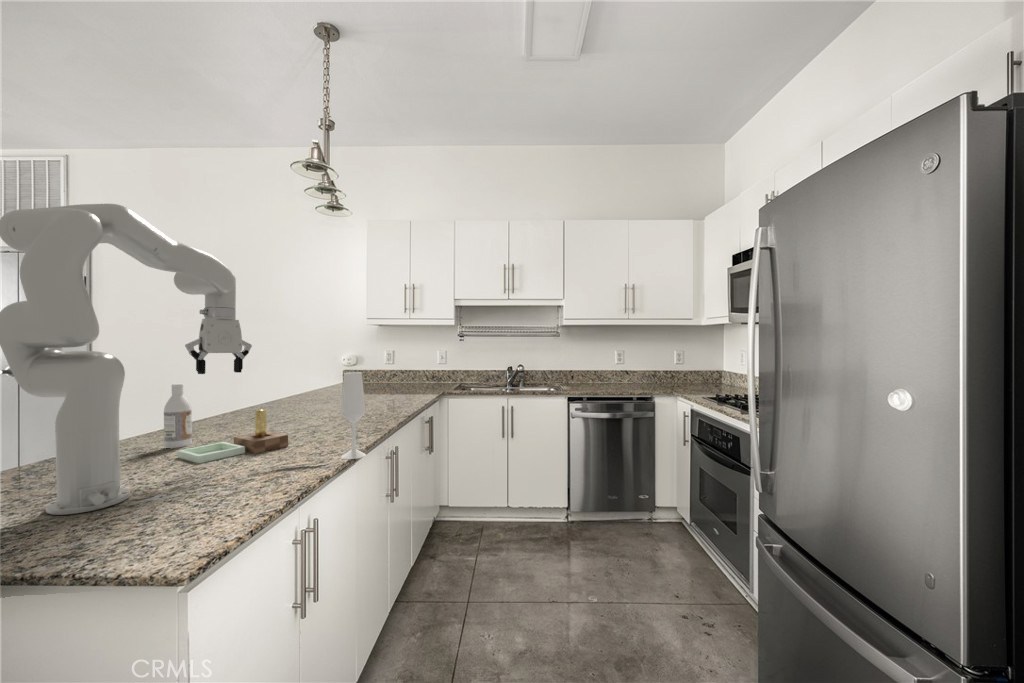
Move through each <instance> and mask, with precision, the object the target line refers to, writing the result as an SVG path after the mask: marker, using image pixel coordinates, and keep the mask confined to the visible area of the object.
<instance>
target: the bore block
mask: <svg viewBox="0 0 1024 683" xmlns="http://www.w3.org/2000/svg"><path fill="white" fill-rule="evenodd" d="M233 444H235V445H240V446H245V452H249V453H253V454H259V453H264V452H268V451H272V450H276V449H281V448H284V447H288V446H289V434H286V433H285V434H284V433H280V432H273V431H269V430H267V437H262V438H255V432H254V433H249V434H243V435H237V436H233Z"/></svg>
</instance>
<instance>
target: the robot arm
mask: <svg viewBox="0 0 1024 683" xmlns="http://www.w3.org/2000/svg"><path fill="white" fill-rule="evenodd" d="M0 240H2V241H3V242H4V244H6V245H7V246H8V247H10V248H11V249H13V250H16V251H19V252H22V253H24V255H23V257H22V260H21V262H20V265H19V279H20V284H21V286H22V289H23V292H24V296H25V299H26V300H21V301H16V302H13V303H11V304H10V303H9V304H8V305H6V306H5V307H4V308H2V309H1V310H0V348H1V350H2V353H3V355H4V357H5V360H6V362H7V364H8V366H9V369H10V371H11V374H12V375H13V377H14V379H15V381H16V383H17V385H18V386H19V387H20V389H22V390H23V391H24V392H26V393H27V394H30V395H31V396H35V397H37V398H38V397H40V398H64V400H63V402H62V404H61V406H60V408H59V410H58V411H57V414H56V418H55V422H54V425H55V426H54V428H55V431H54V432H55V467H56V468H55V469H56V470H55V471H56V472H55V473H56V476H55V478H56V480H55V481H56V499H55V500H53V501H51V502H49V503H47V505H45V512H46V513H47V514H49V515H55V516H65V515H75V514H81V513H82V514H83V513H86V512H93V511H97V510H101V509H104V508H107V507H111V506H114V505H117V504H120V503H121V502H124V501H126V500H127V499H129V497H131V491H130V489H128V488H126V487H121V456H120V455H121V453H120V452H121V449H120V443H121V442H120V402H121V401H120V400H121V395H122V390H123V388H124V387H123V386H124V382H125V378H126V376H125V375H126V372H125V367H124V365H123V363H122V362H121V361H120V359H119V358H117V357H116V356H114V355H112V354H110V353H107V352H103V351H96V350H95V351H94V350H80V351H79V350H71V351H69V350H68V351H64V350H63V349H64V348H79V347H84V346H86V345H87V346H88V345H90V344H92V343H93V342H94V341H96V340H97V338H98V337H99V335H100V324H99V321H98V317H97V314H96V311H95V309H94V306H93V303H92V300H91V298H90V295H89V292H88V289H87V286H86V282H85V279H84V273H83V272H84V266H85V263H86V261H87V259H88V258H89V256H90V254H91V253H92V252H93V250H95V248H96V247H97V246H98V245H99V244H109V245H111V246H113V247H115V248H116V249H118V250H120V251H122V252H123V253H125V254H126V255H128V256H130V257H131V258H133V259H134V260H136V261H137V262H138V263H141V264H142V265H144V266H145V267H149V268H153V269H156V270H159V271H165V272H171V273H175V274H174V276H173V283H174V285H175V287H176V288H177V289H178V290H179V291H180V292H182V293H184V294H187V295H192V296H194V295H197V296H199V295H204V307H203V309H199V314H200V315H203V317H204V318H202V320H201V323H200V326H199V327H200V328H199V332H198V338H197V339H194V340H193V341H191V342H188V343H186V344H184V347H185V348H186V350H187V351H188V354H189V355H190V357H191V356H192V357H193V359H194V360H195V371H196V372H197V374H198V375H205V374H206V360H205V358H206V357H207V355H209V354H232V355H233V356H234V357H235V358H234V359H233V372H234V373H242V370H243V368H244V367H243V364H244V363H243V361H244V359H245V358H246V357H247V355H248V354H249V352H250V350H251V349H252V347H253V345H252V344H251V343H250V342H247V341H245V340H243V336H242V329H241V325H240V321H239V319H236V316H237V315H236V312H237V311H236V308H237V306H236V301H237V300H236V299H237V298H236V297H237V295H236V294H237V293H236V292H237V290H236V289H237V288H236V286H237V282H236V280H237V278H236V276H235V275H234V274H233V272H232V271H231V270H230V269H229V267H227V265H225V263H223V262H221V261H220V260H219V259H218V258H216V257H215V256H213V255H212V254H210V253H207V252H205V251H203V250H201V249H198V248H195V247H193V246H190V245H187V244H184V243H182V242H179V241H177V240H173V239H171V238H170V237H168V236H167V235H166V234H164V233H163V232H161V231H160V230H159V229H157V228H156V227H155V226H153V225H152V224H151V223H149V222H148V221H146V220H145V219H144V218H143V217H141V216H140V215H138V214H137V213H135V212H134V211H132V210H131V209H129V208H128V207H127V206H124V205H120V204H118V203H116V204H115V203H89V204H88V203H87V204H86V203H85V204H83V203H82V204H72V205H71V204H70V205H69V204H68V205H61V206H52V207H42V208H41V207H38V208H25V209H24V208H23V209H22V208H21V209H16V210H11V211H9V212H6V213H5V214H3V215H2V216H1V217H0ZM195 346H197V347H198V352H197V351H196V350H195Z"/></svg>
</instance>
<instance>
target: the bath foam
mask: <svg viewBox="0 0 1024 683" xmlns="http://www.w3.org/2000/svg"><path fill="white" fill-rule="evenodd" d="M192 416H193V415H192V406H191V403H190V402H189V400H188V399H187V397H186V396H185V395H184V383H171V396H170V397H169V398H168V400H167V401H166V403H165V406H164V408H163V437H164V438H163V442H164V448H165V447H166V448H171V449H176V448H183V447H188V446H191V444H193V442H192V441H193V436H192V435H193V431H192V430H193V429H192V428H193V426H192V425H193V424H192V423H193V422H192ZM166 448H165V449H166Z"/></svg>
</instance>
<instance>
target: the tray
mask: <svg viewBox="0 0 1024 683" xmlns="http://www.w3.org/2000/svg"><path fill="white" fill-rule="evenodd" d="M245 453H246V451H245V446H240V445H235V444H234V443H230V442H226V441H221V442H216V443H212V444H206V445H201V446H195V447H190V448H186V449H179V450H177V458H178V459H182V460H185V461H189V462H193V463H196V464H203V463H207V462H211V461H217V460H220V459H224V458H225V459H226V458H230V457H234V456H238V455H244V454H245Z"/></svg>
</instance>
